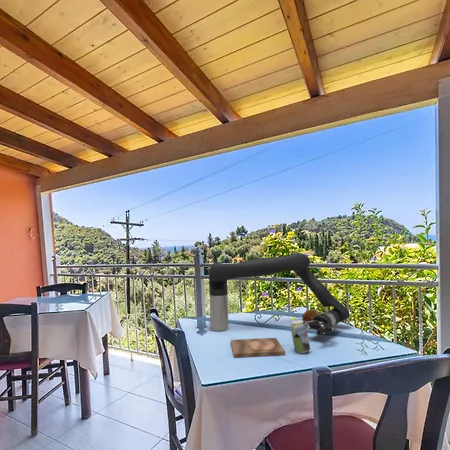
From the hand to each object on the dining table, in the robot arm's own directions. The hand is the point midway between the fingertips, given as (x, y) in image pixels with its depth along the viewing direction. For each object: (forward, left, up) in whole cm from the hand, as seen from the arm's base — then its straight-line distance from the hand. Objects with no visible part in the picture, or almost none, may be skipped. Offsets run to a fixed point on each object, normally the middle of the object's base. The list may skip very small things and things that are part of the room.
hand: (308, 330), depth 128 cm
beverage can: (-5, -5, -7) cm, 10 cm away
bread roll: (+14, +36, -7) cm, 39 cm away
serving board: (-22, 0, -6) cm, 23 cm away
